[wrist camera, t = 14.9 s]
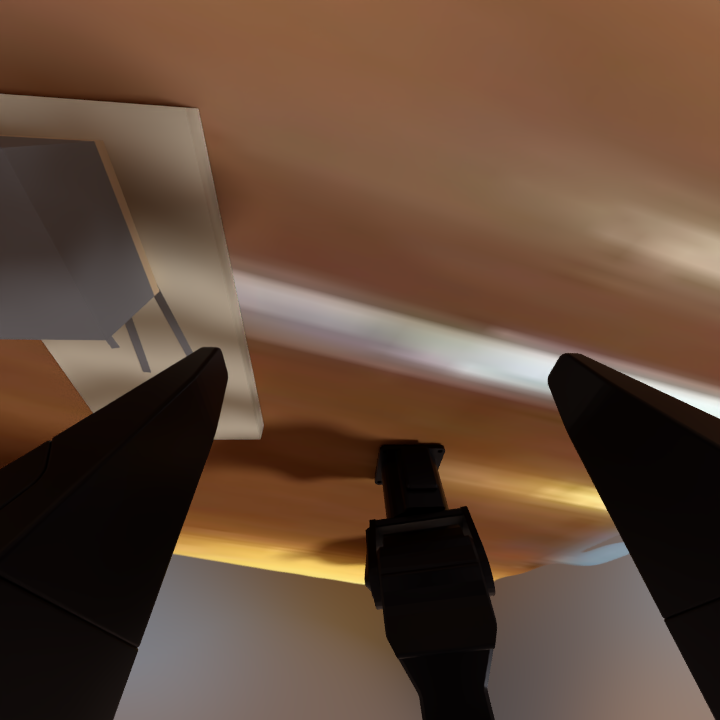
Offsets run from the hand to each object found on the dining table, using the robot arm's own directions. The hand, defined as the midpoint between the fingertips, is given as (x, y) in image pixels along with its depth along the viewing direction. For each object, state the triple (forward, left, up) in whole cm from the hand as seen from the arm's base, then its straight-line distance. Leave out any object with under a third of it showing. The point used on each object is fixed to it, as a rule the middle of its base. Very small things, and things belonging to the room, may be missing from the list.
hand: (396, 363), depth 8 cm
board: (-6, +14, -12) cm, 19 cm away
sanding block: (0, +14, -10) cm, 18 cm away
